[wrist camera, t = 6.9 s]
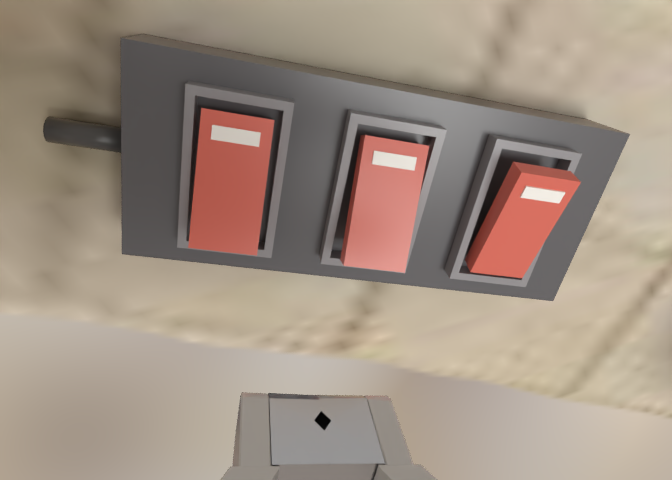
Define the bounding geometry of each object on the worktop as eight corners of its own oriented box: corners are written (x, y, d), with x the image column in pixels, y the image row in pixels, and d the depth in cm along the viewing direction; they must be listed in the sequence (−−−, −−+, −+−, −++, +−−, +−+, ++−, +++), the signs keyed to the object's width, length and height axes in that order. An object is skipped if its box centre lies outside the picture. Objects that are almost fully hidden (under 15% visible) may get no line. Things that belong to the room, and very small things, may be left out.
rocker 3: (464, 259, 25) (470, 273, 24) (513, 161, 21) (522, 173, 20) (515, 265, 25) (522, 279, 25) (570, 171, 22) (582, 183, 21)
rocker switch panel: (63, 215, 25) (24, 253, 21) (51, 16, 21) (-1, 17, 17) (524, 271, 30) (561, 309, 26) (587, 119, 26) (642, 138, 22)
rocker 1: (191, 241, 21) (188, 248, 20) (204, 108, 20) (201, 107, 19) (257, 249, 22) (256, 256, 21) (273, 120, 20) (274, 120, 19)
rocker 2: (340, 260, 22) (343, 266, 21) (360, 135, 21) (365, 135, 20) (398, 267, 23) (405, 273, 22) (422, 145, 22) (430, 145, 21)
